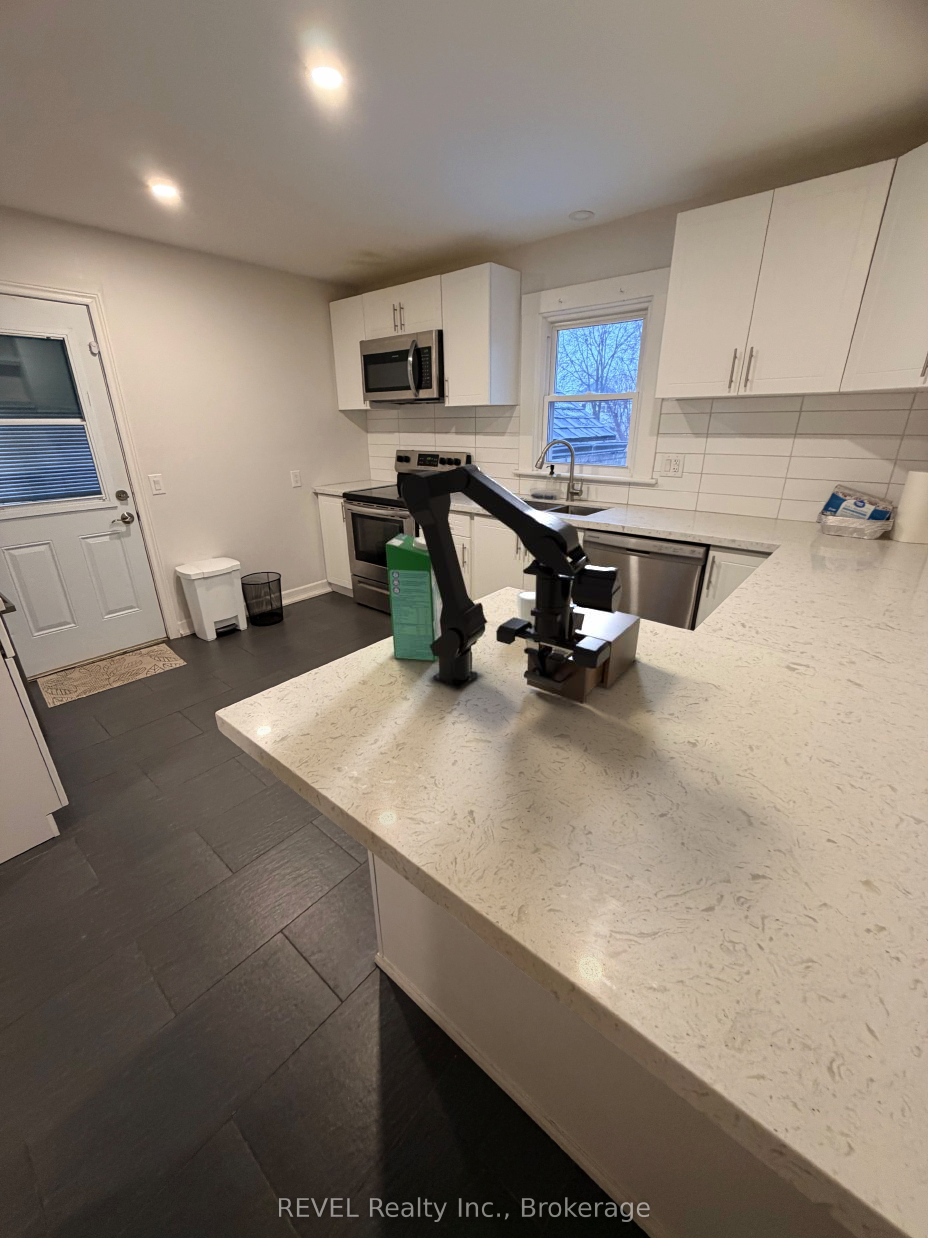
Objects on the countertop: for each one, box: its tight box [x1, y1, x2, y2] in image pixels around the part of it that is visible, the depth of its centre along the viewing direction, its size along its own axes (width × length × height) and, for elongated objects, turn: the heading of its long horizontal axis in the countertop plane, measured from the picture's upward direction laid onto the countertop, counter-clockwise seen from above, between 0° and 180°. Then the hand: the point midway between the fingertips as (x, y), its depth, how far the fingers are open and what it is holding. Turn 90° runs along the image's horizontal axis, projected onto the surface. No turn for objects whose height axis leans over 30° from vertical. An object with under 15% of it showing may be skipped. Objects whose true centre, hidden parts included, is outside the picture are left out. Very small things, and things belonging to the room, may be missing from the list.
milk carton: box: [385, 533, 442, 662], centre depth 104 cm, size 9×9×25 cm
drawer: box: [523, 635, 606, 705], centre depth 91 cm, size 18×11×8 cm, turn 142°
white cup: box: [515, 590, 535, 627], centre depth 121 cm, size 7×7×7 cm
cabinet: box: [573, 606, 642, 689], centre depth 99 cm, size 15×13×10 cm
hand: (548, 685), depth 86 cm, fingers closed, pressing on drawer
